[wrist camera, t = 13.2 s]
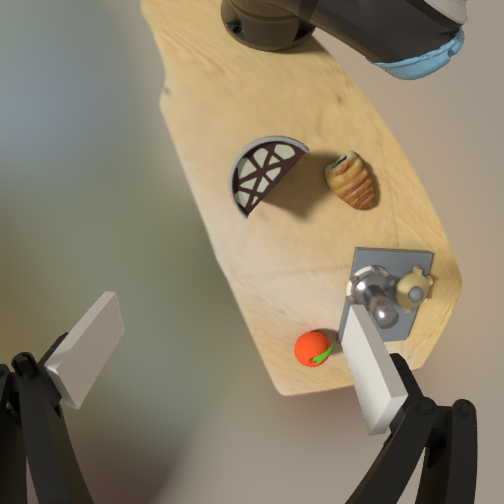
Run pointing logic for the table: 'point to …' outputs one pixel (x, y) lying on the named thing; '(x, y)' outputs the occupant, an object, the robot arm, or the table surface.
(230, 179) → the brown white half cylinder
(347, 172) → the pastry
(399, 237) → the table surface
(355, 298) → the gear
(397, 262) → the gear board
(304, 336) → the clementine
